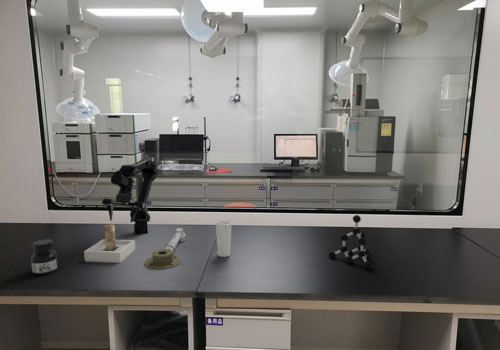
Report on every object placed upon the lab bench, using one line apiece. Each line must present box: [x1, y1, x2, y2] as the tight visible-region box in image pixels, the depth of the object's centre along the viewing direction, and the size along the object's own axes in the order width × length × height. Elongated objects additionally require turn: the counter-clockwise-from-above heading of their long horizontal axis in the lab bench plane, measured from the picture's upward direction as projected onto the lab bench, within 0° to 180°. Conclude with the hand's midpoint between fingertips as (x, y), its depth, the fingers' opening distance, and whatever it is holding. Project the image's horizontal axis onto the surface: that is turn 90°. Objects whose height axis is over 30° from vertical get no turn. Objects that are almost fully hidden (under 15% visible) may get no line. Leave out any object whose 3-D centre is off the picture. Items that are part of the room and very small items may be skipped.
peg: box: [104, 223, 116, 251], centre depth 154 cm, size 4×4×13 cm
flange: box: [144, 248, 182, 270], centre depth 147 cm, size 5×15×15 cm
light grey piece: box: [164, 227, 186, 253], centre depth 165 cm, size 5×7×25 cm
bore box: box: [83, 239, 136, 264], centre depth 155 cm, size 16×16×4 cm
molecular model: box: [327, 214, 373, 270], centre depth 150 cm, size 18×20×20 cm
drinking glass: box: [215, 220, 232, 258], centre depth 154 cm, size 7×7×15 cm
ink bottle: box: [30, 238, 59, 276], centre depth 138 cm, size 10×9×12 cm
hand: (120, 221), depth 166 cm, fingers open, 9 cm apart
